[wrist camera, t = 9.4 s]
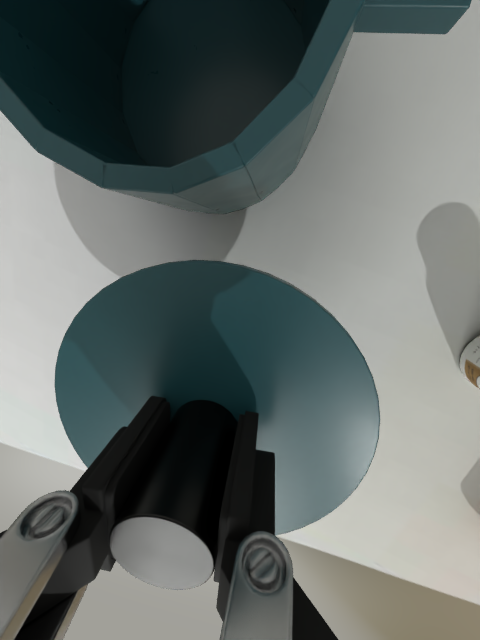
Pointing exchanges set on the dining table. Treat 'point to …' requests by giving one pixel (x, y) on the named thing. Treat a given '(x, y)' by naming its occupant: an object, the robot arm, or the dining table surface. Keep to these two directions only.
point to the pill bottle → (471, 362)
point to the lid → (215, 403)
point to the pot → (185, 87)
